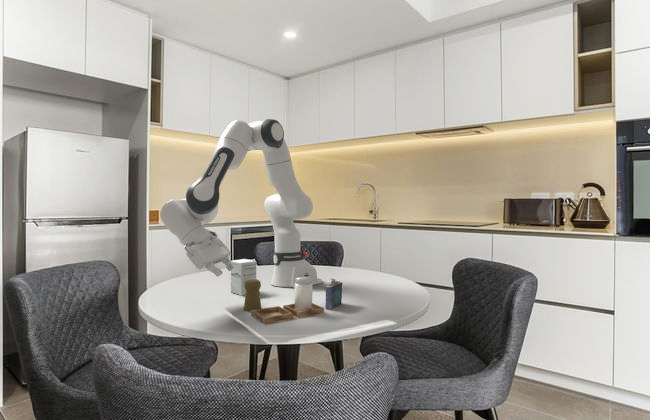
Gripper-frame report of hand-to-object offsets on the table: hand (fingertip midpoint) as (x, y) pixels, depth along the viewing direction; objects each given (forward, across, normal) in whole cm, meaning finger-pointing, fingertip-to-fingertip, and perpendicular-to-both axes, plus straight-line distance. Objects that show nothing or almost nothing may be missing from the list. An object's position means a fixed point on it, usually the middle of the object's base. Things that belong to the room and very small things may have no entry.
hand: (226, 272), depth 130 cm
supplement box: (+7, +26, +12) cm, 30 cm away
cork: (+16, 0, +3) cm, 16 cm away
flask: (+34, +8, -15) cm, 37 cm away
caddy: (+24, -3, -6) cm, 25 cm away
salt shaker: (+26, 0, -10) cm, 28 cm away
